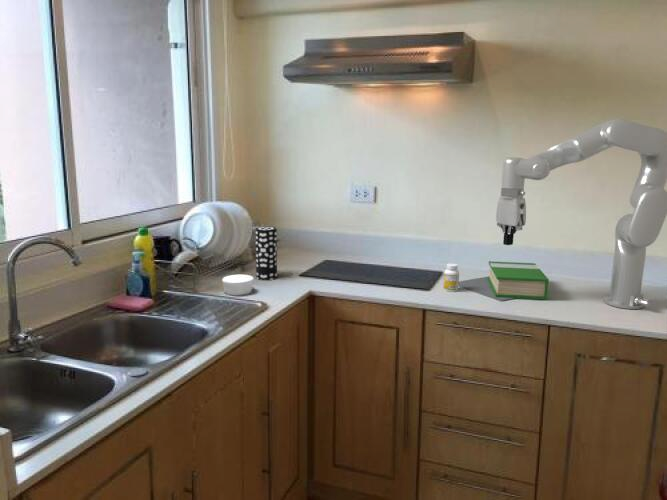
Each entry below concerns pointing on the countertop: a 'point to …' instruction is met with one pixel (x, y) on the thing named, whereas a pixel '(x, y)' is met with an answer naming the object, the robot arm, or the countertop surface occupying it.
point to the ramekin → (238, 284)
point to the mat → (481, 287)
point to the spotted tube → (266, 253)
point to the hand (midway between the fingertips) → (508, 244)
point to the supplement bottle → (451, 278)
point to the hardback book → (518, 280)
